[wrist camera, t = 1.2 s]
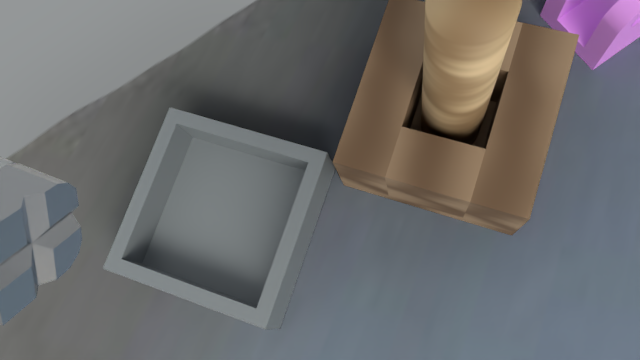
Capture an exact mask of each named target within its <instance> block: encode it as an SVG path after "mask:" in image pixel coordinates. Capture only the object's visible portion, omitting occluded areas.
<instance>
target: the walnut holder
mask: <svg viewBox="0 0 640 360" xmlns="http://www.w3.org/2000/svg"><path fill="white" fill-rule="evenodd" d="M424 26H425V2H422V1H418V0H389V1H388V4H387V7H386V10H385V13H384V15H383V18H382V21H381V24H380V27H379V30H378V33H377V36H376V38H375V41H374V44H373V47H372V50H371V53H370V56H369V59H368V61H367V64H366V67H365V70H364V73H363V76H362V79H361V82H360V85H359V87H358V90H357V93H356V96H355V99H354V102H353V105H352V108H351V110H350V113H349V116H348V119H347V122H346V125H345V128H344V131H343V133H342V136H341V139H340V142H339V145H338V148H337V151H336V154H335V156H334V159H333V164H334V166H335V168H336V170H337V172H338V174H339V176H340V178H341V180H342V182H343V184H344V185H345V186H348V187H352V188H355V189H358V190H362V191H365V192H368V193H372V194H375V195H378V196H382V197H385V198H388V199H392V200H395V201H398V202H402V203H405V204H408V205H412V206H415V207H419V208H422V209H425V210H429V211H432V212H435V213H439V214H442V215H445V216H449V217H452V218H455V219H459V220H462V221H465V222H469V223H472V224H475V225H479V226H482V227H485V228H489V229H492V230H495V231H499V232H502V233H505V234H509V235H513V234H514V233H515V232H516V231H517V230H518V229H519V228H520V227H522V226H523V225H524V224H525V223H526V222H527V221H528V220H529V219H530V215H531V212H532V208H533V204H534V201H535V197H536V193H537V189H538V186H539V182H540V178H541V175H542V171H543V167H544V164H545V160H546V156H547V153H548V149H549V145H550V141H551V138H552V134H553V130H554V127H555V123H556V119H557V116H558V112H559V108H560V104H561V101H562V97H563V93H564V90H565V86H566V82H567V79H568V75H569V71H570V67H571V64H572V60H573V56H574V53H575V49H576V45H577V42H578V38H579V35H578V34H573V33H568V32H564V31H559V30H554V29H550V28H545V27H540V26H535V25H531V24H526V23H521V22H517V21H516V24H515V27H514V30H513V33H512V36H511V39H510V42H509V45H508V48H507V51H506V54H505V57H504V60H503V62H502V65H501V68H500V71H499V74H498V77H497V80H496V83H495V86H494V89H493V92H492V95H491V98H490V101H489V104H488V107H487V110H486V113H485V116H484V119H483V122H482V125H481V128H480V130H479V133H478V136H477V138H476V140H475V142H474V143H473V144H472V145H469V144H466V143H462V142H458V141H454V140H451V139H447V138H443V137H439V136H436V135H432V134H428V133H424V132H421V111H422V83H423V54H424Z"/></svg>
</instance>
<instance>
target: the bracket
mask: <svg viewBox="0 0 640 360" xmlns="http://www.w3.org/2000/svg"><path fill="white" fill-rule="evenodd" d="M540 16H541V17H542V18H543V19H544V20H545V21H546V22H547V23H548V24H549V26H550V27H551V28H552V29H554V30H559V31H564V32H568V33H573V34H578V35H579V38H578V42H577V45H576V49H575V52H576V53H577V54H578V56H579V57H580V58H581V59H582V60H583V61H584V62H585V63H586V64H587V65H588V66H589V67H590V68H591V69H592V70H593V69H595V68H596V67H597V66H599V65H600V64H602V63H603V62H605V61H606V60H607V59H609V58H610V57H612V56H613V55H614V54H616V53H617V52H619V51H620V50H622V49H623V48H624V47H626V46H627V45H629V44H630V43H631V42H633V41H634V40H636V39H637V38H639V37H640V0H546V2H545V5H544V7H543V9H542V12H541V14H540Z"/></svg>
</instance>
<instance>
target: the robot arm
mask: <svg viewBox="0 0 640 360" xmlns="http://www.w3.org/2000/svg"><path fill="white" fill-rule="evenodd" d="M78 206H79V204H78V198H77V191H76V188H75V187H73V186H72V185H70V184H69V183H67V182H65V181H62V180H60V179H57V178H55V177H52V176H50V175H47V174H45V173H42V172H40V171H37V170H35V169H32V168H29V167H27V166H24V165H22V164H19V163H18V164H17V163H15V162H12V161H10V160H7V159H5V158H2V157H0V324H1V325H4V324H5V323H7V322H8V321H9V320H10V319H11V318H13V317H14V316H15V315H16V314H17V313H18V312H20V311H21V310H22V309H23V308H24V307H25V306H27V305H28V304H29V303H30V302H31V301H32V300H34V299H35V298H36V296H37V291H38V286H39V285H40V284H44V283H47V282H50V281H54V280H57V279H58V278H59V277H60V276H61V275H63V274H64V273H65V272H66V271H67V270H68V269H69V268H70V267H71V265H72V263H73V262H74V260H75V258H76V257H77V255H78V253H79V250H80V246H81V241H82V235H81V227H80V225H79V223H78V222H77V220H76V219H75V217H74V216H73V214H72V212H73V211H74V210H75V209H76V208H77V207H78Z"/></svg>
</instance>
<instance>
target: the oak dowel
mask: <svg viewBox="0 0 640 360" xmlns="http://www.w3.org/2000/svg"><path fill="white" fill-rule="evenodd" d="M521 5H522V0H425V26H424V54H423V83H422V111H421V132H424V133H428V134H432V135H436V136H439V137H443V138H447V139H451V140H454V141H458V142H462V143H466V144H469V145H472V144H473V143H474V142H475V140H476V138H477V136H478V133H479V130H480V128H481V125H482V122H483V119H484V116H485V113H486V110H487V107H488V104H489V101H490V98H491V95H492V92H493V89H494V86H495V83H496V80H497V77H498V74H499V71H500V68H501V65H502V62H503V60H504V57H505V54H506V51H507V48H508V45H509V42H510V39H511V36H512V33H513V30H514V27H515V24H516V21H517V18H518V15H519V12H520V9H521Z"/></svg>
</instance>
